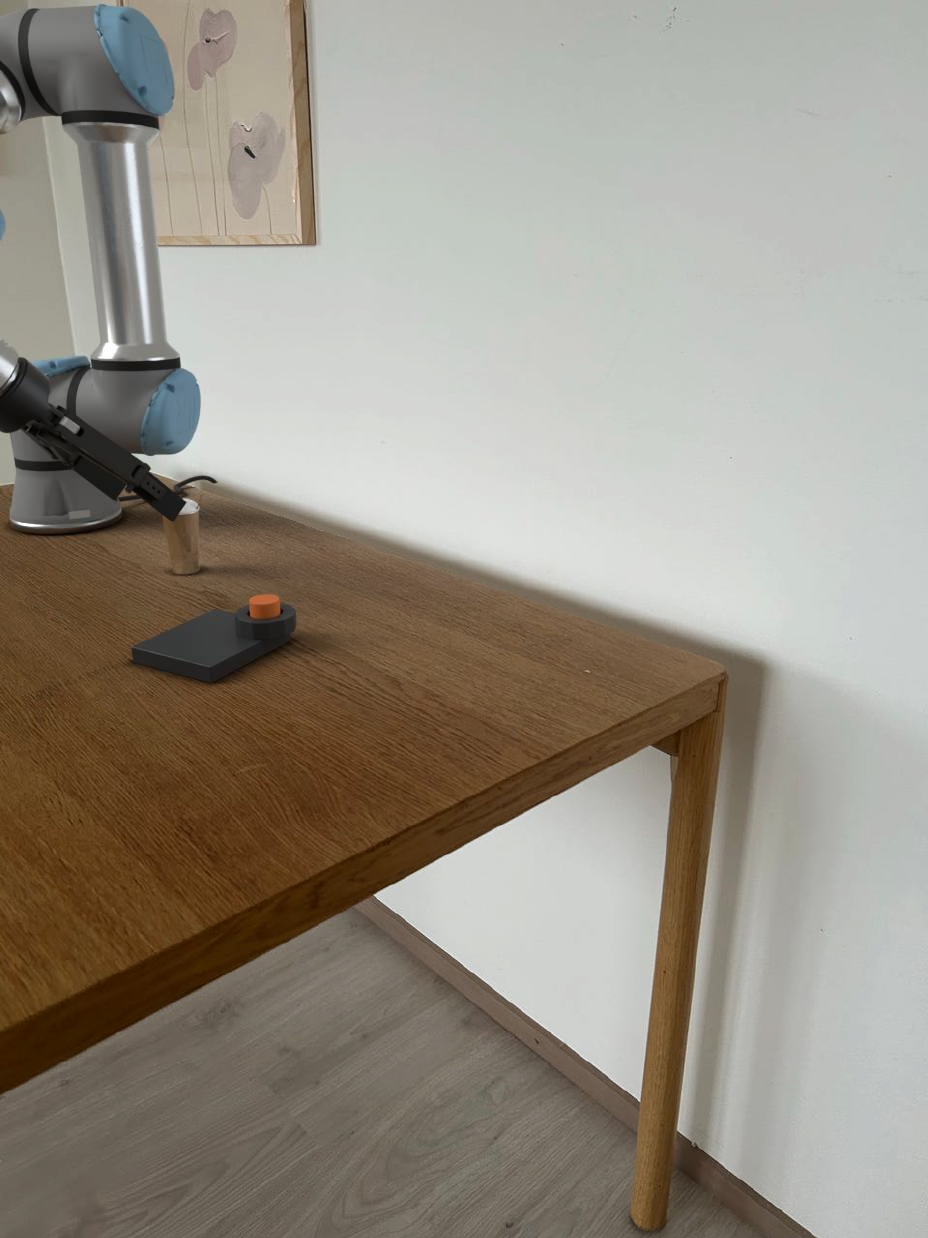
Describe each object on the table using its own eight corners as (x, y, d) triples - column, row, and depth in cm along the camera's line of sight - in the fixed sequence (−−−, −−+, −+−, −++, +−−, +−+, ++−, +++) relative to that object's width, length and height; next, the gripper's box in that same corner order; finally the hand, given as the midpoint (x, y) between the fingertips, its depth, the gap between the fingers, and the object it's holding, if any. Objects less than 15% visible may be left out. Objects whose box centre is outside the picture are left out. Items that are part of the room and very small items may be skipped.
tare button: (263, 608, 98) (262, 592, 97) (286, 613, 97) (285, 597, 96) (244, 617, 96) (242, 601, 95) (267, 622, 94) (266, 606, 94)
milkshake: (201, 578, 117) (193, 498, 113) (161, 575, 118) (151, 495, 114) (217, 566, 121) (210, 489, 117) (178, 564, 122) (170, 487, 118)
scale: (222, 620, 103) (220, 589, 102) (308, 639, 98) (306, 608, 97) (132, 662, 93) (128, 629, 92) (223, 686, 88) (220, 651, 87)
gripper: (-71, 398, 104) (81, 507, 120) (25, 426, 88) (186, 549, 104) (-29, 344, 106) (115, 459, 121) (73, 363, 90) (224, 493, 105)
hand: (148, 501), depth 113 cm, fingers open, 13 cm apart
